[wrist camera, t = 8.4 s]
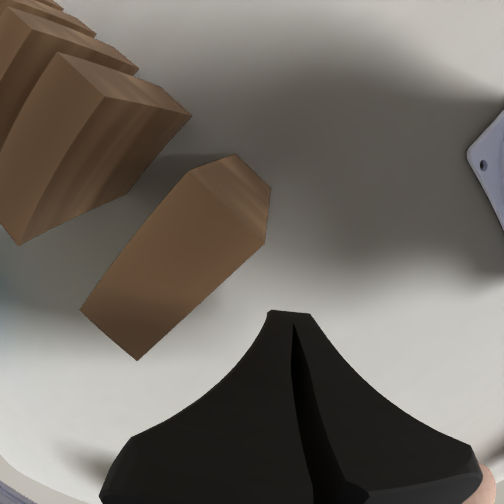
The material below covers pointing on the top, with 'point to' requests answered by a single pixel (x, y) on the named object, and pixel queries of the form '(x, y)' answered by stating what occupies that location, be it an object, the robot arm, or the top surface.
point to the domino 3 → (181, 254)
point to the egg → (484, 489)
